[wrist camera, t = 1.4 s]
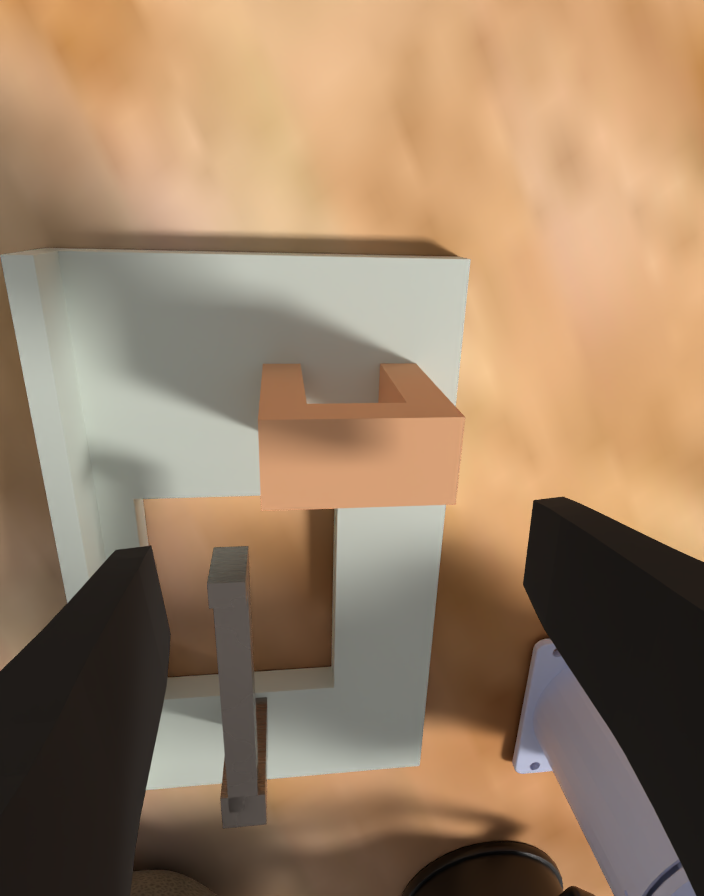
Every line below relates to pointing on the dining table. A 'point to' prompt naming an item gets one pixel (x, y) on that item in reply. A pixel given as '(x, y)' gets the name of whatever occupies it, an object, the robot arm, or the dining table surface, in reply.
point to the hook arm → (238, 691)
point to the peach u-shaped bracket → (357, 444)
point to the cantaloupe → (166, 884)
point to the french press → (492, 873)
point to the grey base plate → (242, 459)
